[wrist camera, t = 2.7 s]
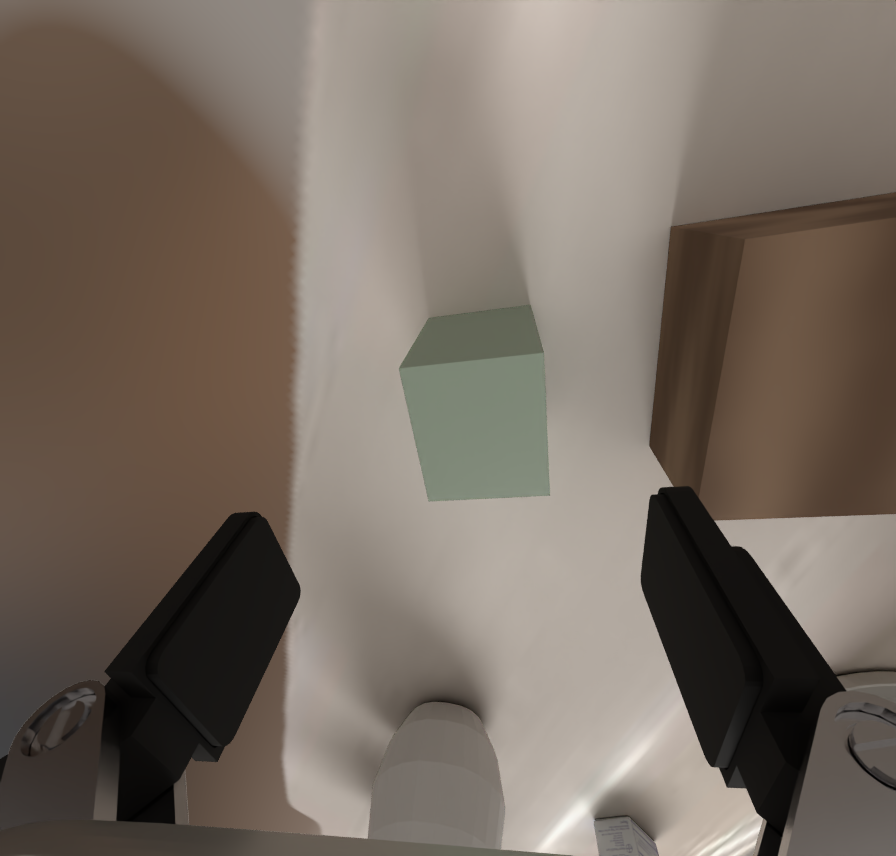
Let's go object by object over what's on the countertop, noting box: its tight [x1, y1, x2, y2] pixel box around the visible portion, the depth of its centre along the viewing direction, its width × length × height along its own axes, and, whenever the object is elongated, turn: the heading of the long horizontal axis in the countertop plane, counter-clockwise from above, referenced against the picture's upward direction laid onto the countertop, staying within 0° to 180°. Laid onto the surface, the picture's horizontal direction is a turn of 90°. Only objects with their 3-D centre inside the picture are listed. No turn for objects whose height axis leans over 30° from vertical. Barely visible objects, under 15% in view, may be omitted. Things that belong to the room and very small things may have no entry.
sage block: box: [399, 305, 550, 501], centre depth 18 cm, size 5×6×7 cm
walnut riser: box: [649, 193, 896, 520], centre depth 16 cm, size 11×11×6 cm
